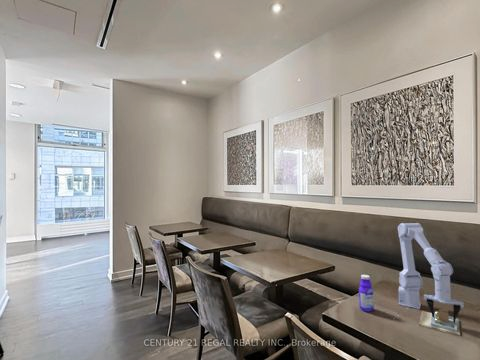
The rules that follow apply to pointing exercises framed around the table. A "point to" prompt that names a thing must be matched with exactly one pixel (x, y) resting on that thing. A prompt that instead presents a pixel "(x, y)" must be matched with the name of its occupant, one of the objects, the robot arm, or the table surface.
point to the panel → (454, 324)
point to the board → (426, 322)
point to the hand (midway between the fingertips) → (443, 318)
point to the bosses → (437, 318)
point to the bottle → (366, 294)
